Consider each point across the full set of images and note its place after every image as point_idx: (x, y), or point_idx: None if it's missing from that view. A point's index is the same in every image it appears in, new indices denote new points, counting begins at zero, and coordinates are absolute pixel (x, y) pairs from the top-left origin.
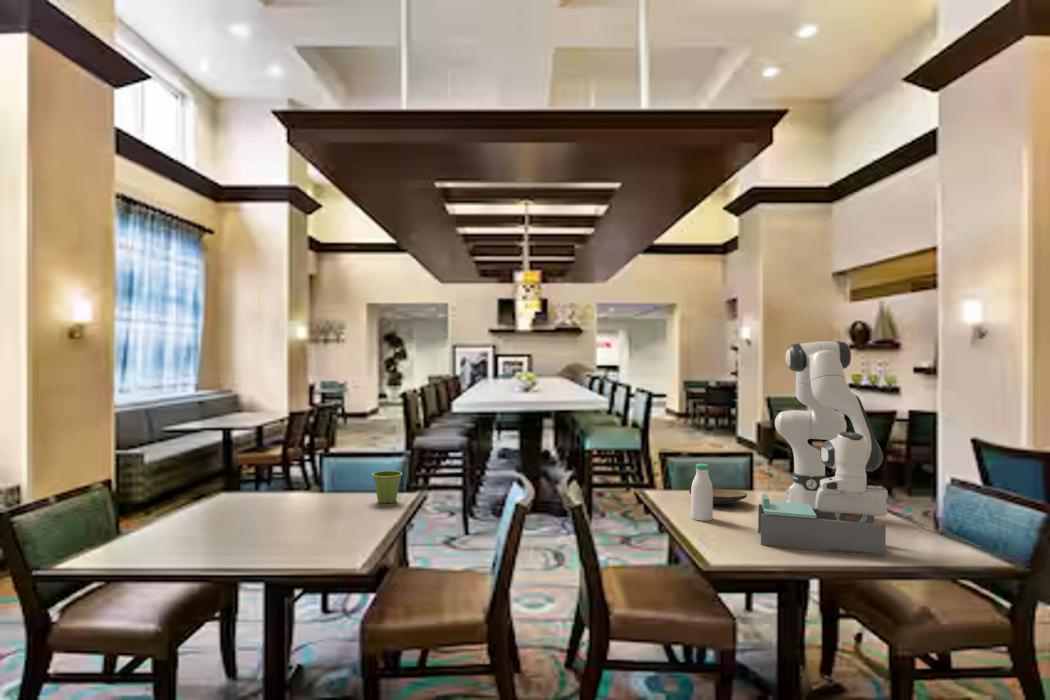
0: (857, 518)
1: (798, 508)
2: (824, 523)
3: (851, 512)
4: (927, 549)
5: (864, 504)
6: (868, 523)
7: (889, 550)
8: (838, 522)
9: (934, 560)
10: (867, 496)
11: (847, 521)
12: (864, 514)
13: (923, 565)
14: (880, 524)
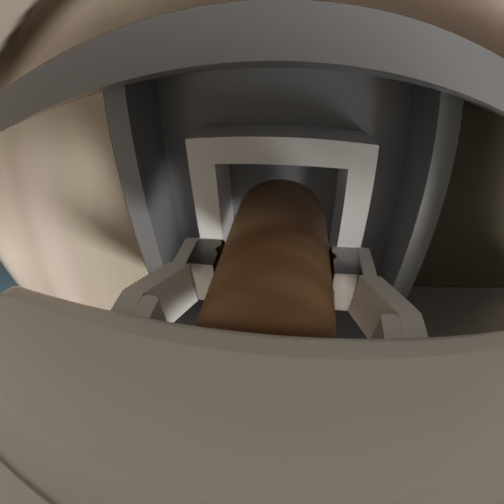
0: (203, 302)
1: None
2: None
3: (259, 346)
4: (47, 247)
5: (63, 419)
6: (85, 73)
7: (118, 191)
8: (492, 56)
9: (16, 134)
10: (10, 489)
11: (385, 64)
12: (115, 313)
13: (35, 46)
14: (10, 110)
